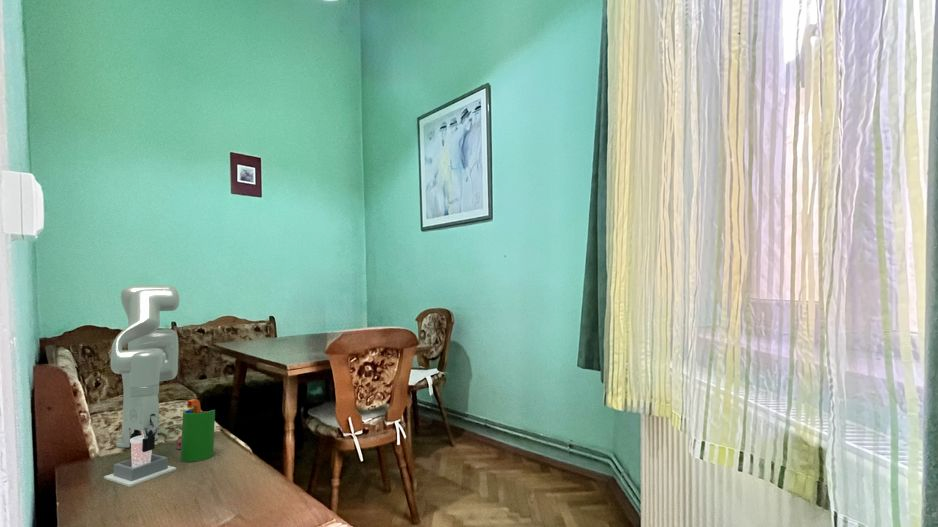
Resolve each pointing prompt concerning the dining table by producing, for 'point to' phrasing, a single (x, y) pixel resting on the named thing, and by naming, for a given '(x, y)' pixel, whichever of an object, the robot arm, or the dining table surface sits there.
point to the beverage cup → (139, 452)
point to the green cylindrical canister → (197, 433)
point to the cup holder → (139, 471)
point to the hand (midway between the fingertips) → (141, 448)
